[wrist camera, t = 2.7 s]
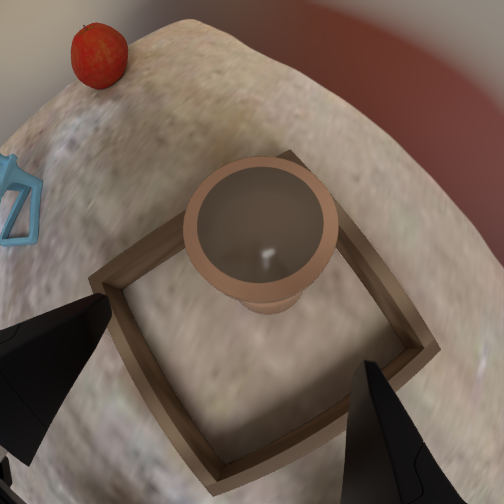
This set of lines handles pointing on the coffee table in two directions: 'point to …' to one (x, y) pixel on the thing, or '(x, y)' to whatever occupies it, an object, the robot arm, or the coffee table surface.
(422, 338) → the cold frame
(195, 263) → the terracotta pot
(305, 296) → the coffee table surface
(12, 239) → the chair
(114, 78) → the apple
